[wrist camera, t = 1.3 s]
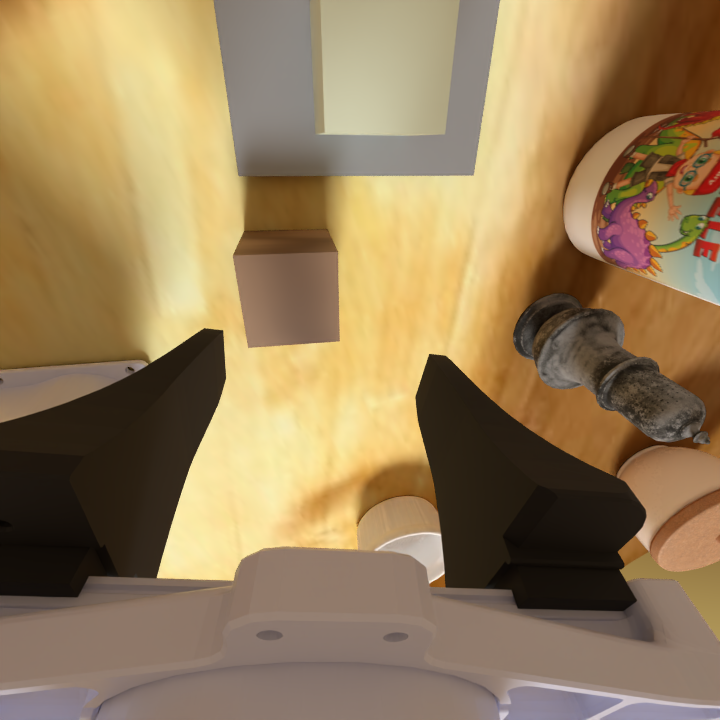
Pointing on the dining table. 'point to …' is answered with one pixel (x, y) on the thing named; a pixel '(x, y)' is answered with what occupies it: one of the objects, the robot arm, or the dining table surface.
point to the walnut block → (288, 287)
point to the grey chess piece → (606, 367)
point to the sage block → (382, 65)
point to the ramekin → (405, 531)
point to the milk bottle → (653, 201)
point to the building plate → (296, 100)
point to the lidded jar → (677, 504)
